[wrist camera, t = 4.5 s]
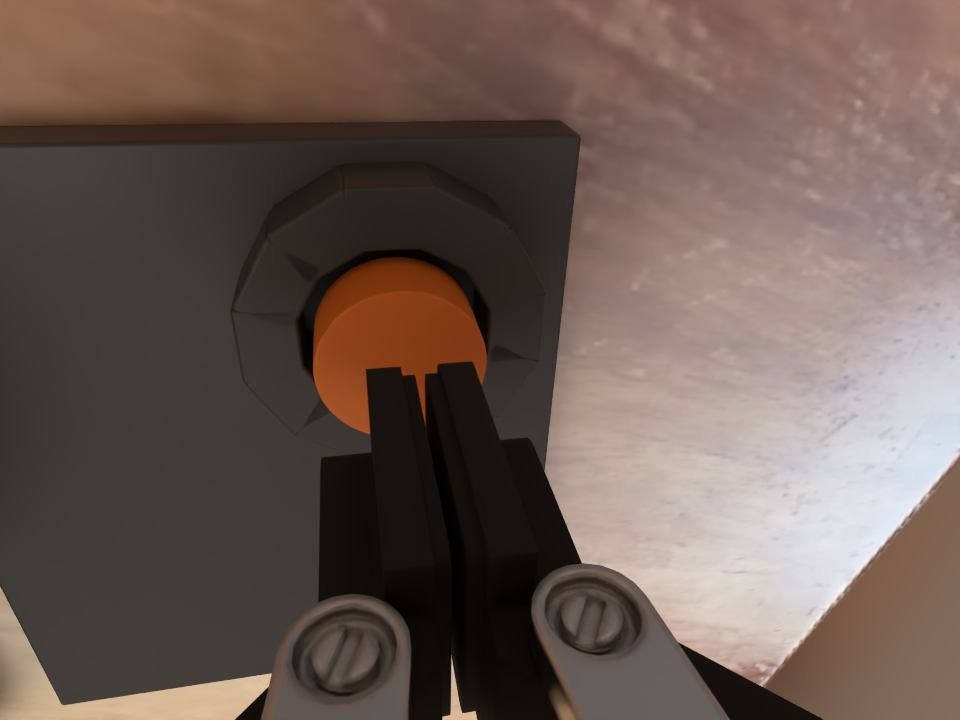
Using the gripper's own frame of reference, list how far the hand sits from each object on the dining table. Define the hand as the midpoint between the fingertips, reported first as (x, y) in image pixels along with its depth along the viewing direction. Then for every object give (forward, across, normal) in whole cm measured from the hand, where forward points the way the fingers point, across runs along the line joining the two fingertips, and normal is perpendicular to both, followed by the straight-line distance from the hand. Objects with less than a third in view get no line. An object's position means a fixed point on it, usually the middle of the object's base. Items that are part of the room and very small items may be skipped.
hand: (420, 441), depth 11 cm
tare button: (+3, 0, 0) cm, 3 cm away
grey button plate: (+6, +3, +4) cm, 8 cm away
